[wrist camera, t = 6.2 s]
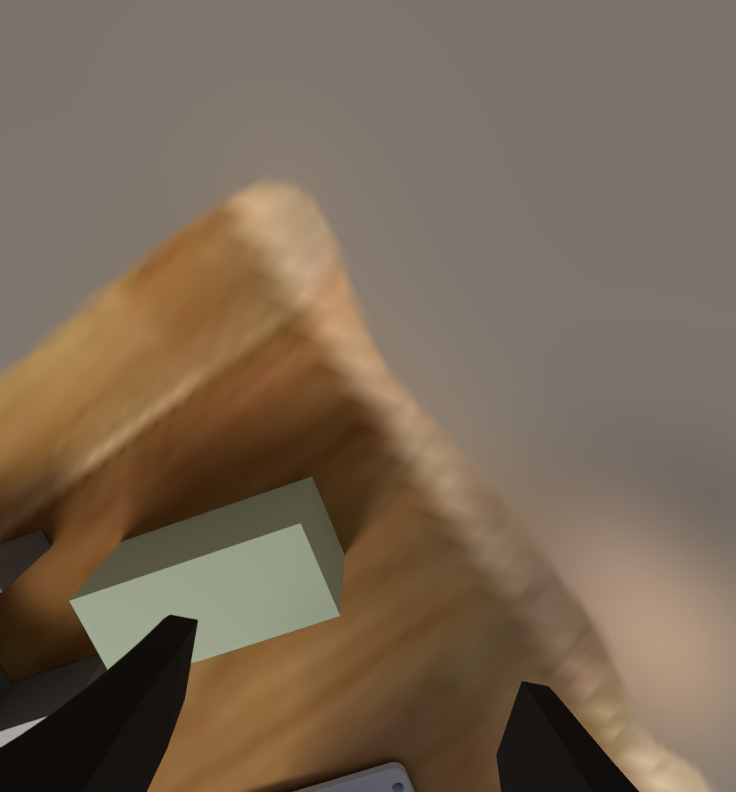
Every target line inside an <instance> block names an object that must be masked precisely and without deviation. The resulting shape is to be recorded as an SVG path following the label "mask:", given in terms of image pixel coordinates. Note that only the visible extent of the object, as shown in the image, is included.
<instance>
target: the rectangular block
mask: <svg viewBox="0 0 736 792" xmlns="http://www.w3.org/2000/svg"><path fill="white" fill-rule="evenodd" d="M344 556H345V555H344V552H343V550H342V547H341V545H340V543H339V540H338V538H337V535H336V533H335V530H334V528H333V526H332V523H331V521H330V518H329V516H328V513H327V511H326V508H325V506H324V504H323V501H322V499H321V496H320V494H319V491H318V489H317V487H316V484H315V482H314V479H313V477H309V478H306V479H303V480H300V481H297V482H294V483H291V484H288V485H285V486H282V487H279V488H277V489H274V490H271V491H268V492H265V493H262V494H259V495H256V496H253V497H250V498H247V499H244V500H241V501H239V502H236V503H233V504H230V505H227V506H224V507H221V508H218V509H215V510H212V511H209V512H206V513H203V514H201V515H198V516H195V517H192V518H189V519H186V520H183V521H180V522H177V523H174V524H171V525H168V526H165V527H163V528H160V529H157V530H154V531H151V532H148V533H145V534H142V535H139V536H136V537H133V538H130V539H128V540H125V541H122V542H120V543H119V544H118V545H117V546H116V548H115V549H114V550H113V551H112V552H111V553H110V554H109V556H108V557H107V558H106V559H105V560H104V561H103V563H102V564H101V565H100V566H99V567H98V568H97V569H96V571H95V572H94V573H93V574H92V575H91V576H90V577H89V579H88V580H87V581H86V582H85V583H84V584H83V586H82V587H81V588H80V589H79V590H78V591H77V592H76V594H75V595H74V596H73V597H72V598H71V599H70V603H71V605H72V607H73V608H74V610H75V612H76V614H77V616H78V617H79V619H80V621H81V623H82V625H83V626H84V628H85V630H86V632H87V634H88V635H89V637H90V639H91V641H92V643H93V644H94V646H95V648H96V650H97V652H98V653H99V655H100V657H101V659H102V661H103V662H104V664H105V666H106V668H107V670H108V669H109V668H110V667H111V666H113V665H114V664H115V663H116V662H117V661H118V660H120V659H121V658H122V657H123V656H124V655H125V654H127V653H128V652H129V651H130V650H131V649H132V648H133V647H134V646H135V645H137V644H138V643H139V642H140V641H141V640H142V639H143V638H144V637H145V636H146V635H147V634H148V633H149V632H150V631H152V630H153V629H154V628H155V627H156V626H157V625H158V624H159V623H160V622H161V621H162V620H163V619H164V618H165V617H167V616H168V615H176V616H181V617H186V618H191V619H197V620H198V625H197V631H196V636H195V642H194V648H193V654H192V660H191V663H194V662H198V661H201V660H204V659H207V658H210V657H213V656H216V655H219V654H223V653H226V652H229V651H232V650H235V649H238V648H241V647H245V646H248V645H251V644H254V643H257V642H260V641H263V640H266V639H270V638H273V637H276V636H279V635H282V634H285V633H288V632H291V631H295V630H298V629H301V628H304V627H307V626H310V625H313V624H317V623H320V622H323V621H326V620H329V619H332V618H335V617H338V616H340V611H341V597H342V584H343V570H344Z"/></svg>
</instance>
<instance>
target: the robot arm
mask: <svg viewBox="0 0 736 792" xmlns="http://www.w3.org/2000/svg"><path fill="white" fill-rule="evenodd" d="M197 625H198V620H197V619H191V618H186V617H181V616H176V615H168V616H167V617H165V618H164V619H163V620H162V621H161V622H160V623H159V624H158V625H157V626H156V627H155V628H154V629H153V630H152V631H150V632H149V633H148V634H147V635H146V636H145V637H144V638H143V639H142V640H141V641H140V642H139V643H138V644H137V645H135V646H134V647H133V648H132V649H131V650H130V651H129V652H128V653H127V654H125V655H124V656H123V657H122V658H121V659H120V660H118V661H117V662H116V663H115V664H114V665H113V666H111V667H110V668H109V669H108V670H107V671H106V672H104V673H103V674H102V675H101V676H100V677H98V678H97V679H96V680H95V681H93V682H92V683H91V684H90V685H88V686H87V687H86V688H84V689H83V690H82V691H81V692H79V693H78V694H77V695H75V696H74V697H73V698H71V699H70V700H69V701H68V702H66V703H65V704H64V705H62V706H61V707H60V708H58V709H57V710H56V711H54V712H53V713H51V714H50V715H49V716H47V717H46V718H44V719H43V720H41V721H40V722H39V723H37V724H36V725H34V726H33V727H31V728H30V729H28V730H27V731H25V732H24V733H22V734H21V735H19V736H18V737H16V738H15V739H13V740H12V741H10V742H8V743H7V744H5V745H4V746H2V747H0V792H147V790H148V788H149V786H150V784H151V781H152V779H153V777H154V775H155V773H156V771H157V769H158V767H159V765H160V762H161V760H162V758H163V756H164V754H165V752H166V750H167V747H168V744H169V742H170V739H171V736H172V733H173V731H174V728H175V725H176V722H177V719H178V717H179V714H180V711H181V708H182V705H183V702H184V700H185V695H186V689H187V683H188V677H189V671H190V666H191V660H192V654H193V648H194V642H195V636H196V631H197ZM497 763H498V771H499V778H500V786H501V792H639V791H638V790H637V789H636V788H635V786H634V785H633V784H632V783H631V782H630V781H629V780H628V779H627V778H626V776H625V775H624V774H623V773H622V772H621V771H620V770H619V768H618V767H617V766H616V765H615V764H614V763H613V762H612V760H611V759H610V758H609V757H608V756H607V755H606V753H605V752H604V751H603V750H602V749H601V747H600V746H599V745H598V744H597V743H596V742H595V740H594V739H593V738H592V737H591V736H590V734H589V733H588V732H587V731H586V730H585V728H584V727H583V726H582V725H581V724H580V722H579V721H578V720H577V719H576V718H575V716H574V715H573V714H572V713H571V712H570V710H569V709H568V708H567V707H566V706H565V705H564V703H563V702H562V701H561V700H560V699H559V698H558V696H557V695H556V694H555V693H554V692H553V691H552V690H551V689H550V687H549V686H544V685H539V684H534V683H529V682H523V681H522V682H521V685H520V688H519V691H518V694H517V697H516V700H515V703H514V706H513V709H512V711H511V714H510V717H509V720H508V723H507V726H506V729H505V732H504V735H503V738H502V741H501V743H500V746H499V749H498V752H497ZM395 783H401V784H395ZM293 792H415V791H414V788H413V786H412V784H411V781H410V779H409V777H408V775H407V772H406V770H405V768H404V766H403V765H401V764H400V763H397V762H391V763H387V764H384V765H380V766H377V767H374V768H370V769H367V770H364V771H360V772H357V773H354V774H350V775H347V776H344V777H340V778H337V779H334V780H330V781H327V782H323V783H320V784H317V785H313V786H310V787H307V788H303V789H300V790H297V791H293Z"/></svg>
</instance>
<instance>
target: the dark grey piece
mask: <svg viewBox="0 0 736 792" xmlns="http://www.w3.org/2000/svg"><path fill="white" fill-rule="evenodd" d="M50 548H51V546H50V544H49V542H48V540H47V539H46V537H45V535H44V533H43V531H42V530H38V531H36V532H33V533H30V534H27V535H24V536H21V537H19V538H16V539H13V540H10V541H7V542H4V543H2V544H0V592H3V591H4V590H5V589H6V588H7V587H8V586H9V585H10V584H11V583H12V582H13V581H15V580H16V579H17V578H18V577H19V576H20V575H21V574H22V573H23V572H24V571H26V570H27V569H28V568H29V567H30V566H31V565H32V564H33V563H34V562H35V561H37V560H38V559H39V558H40V557H41V556H42V555H43V554H44V553H45V552H46V551H47V550H49V549H50ZM106 671H107V668H106V666H105V664H104V662H103V661H102V659H101V657H100V655H96V656H93V657H90V658H86V659H83V660H80V661H77V662H74V663H71V664H68V665H65V666H62V667H59V668H56V669H53V670H50V671H47V672H44V673H41V674H38V675H35V676H32V677H29V678H26V679H23V680H20V681H17V682H14V683H10V681H9V679H8V678H7V676H6V674H5V673H4V671H3V670H2V668H1V666H0V747H2V746H4V745H5V744H7V743H8V742H10V741H12V740H13V739H15V738H16V737H18V736H19V735H21V734H22V733H24V732H25V731H27V730H28V729H30V728H31V727H33V726H34V725H36V724H37V723H39V722H40V721H41V720H43V719H44V718H46V717H47V716H49V715H50V714H51V713H53V712H54V711H56V710H57V709H58V708H60V707H61V706H62V705H64V704H65V703H66V702H68V701H69V700H70V699H71V698H73V697H74V696H75V695H77V694H78V693H79V692H81V691H82V690H83V689H84V688H86V687H87V686H88V685H90V684H91V683H92V682H93V681H95V680H96V679H97V678H98V677H100V676H101V675H102V674H103V673H104V672H106Z"/></svg>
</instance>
